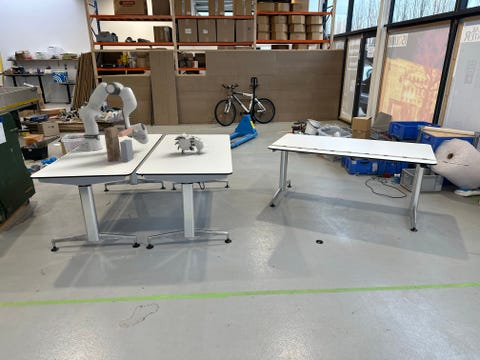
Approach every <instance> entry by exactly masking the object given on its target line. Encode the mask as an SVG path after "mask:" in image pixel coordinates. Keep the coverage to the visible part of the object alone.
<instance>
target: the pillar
mask: <svg viewBox="0 0 480 360" xmlns="http://www.w3.org/2000/svg"><path fill="white" fill-rule="evenodd" d="M118 131H119V129H118V127H117V126H108V127H106V128H104V129H103V134H104V139H105V147H106V148H105V149H106V154H107V155H106V156H107V161H108V162H117V161H119V160H120V159H121V160H122V155H121V147H120V140H119V135H118V133H119V132H118Z"/></svg>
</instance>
